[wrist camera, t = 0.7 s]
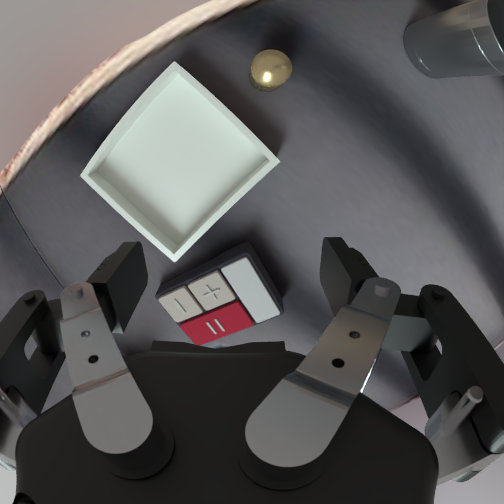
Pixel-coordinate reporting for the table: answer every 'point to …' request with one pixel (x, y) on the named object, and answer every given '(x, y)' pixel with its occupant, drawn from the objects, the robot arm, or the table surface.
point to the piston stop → (270, 70)
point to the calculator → (222, 295)
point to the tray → (177, 162)
